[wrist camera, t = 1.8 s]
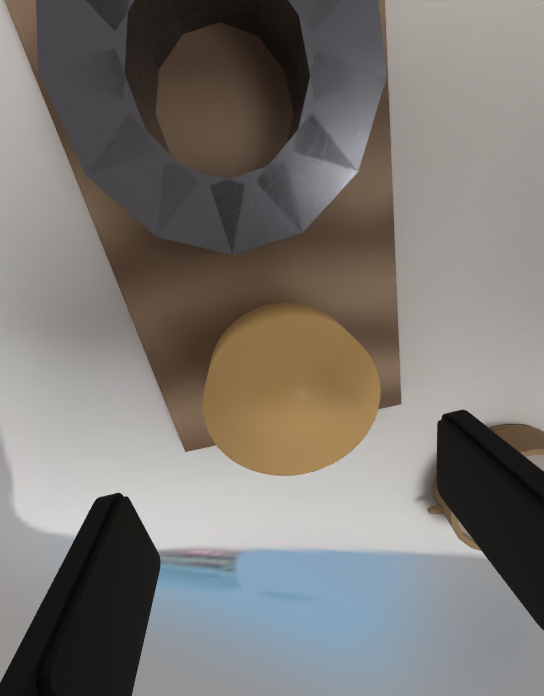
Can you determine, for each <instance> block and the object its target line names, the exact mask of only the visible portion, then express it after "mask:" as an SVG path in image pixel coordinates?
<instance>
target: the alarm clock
mask: <svg viewBox="0 0 544 696" xmlns="http://www.w3.org/2000/svg"><path fill="white" fill-rule="evenodd" d="M489 429H491V430H492V431H493V432H494V433H496V434H497V435H498V436H500V437H501V438H502V439H503V440H505V441H506V442H507V443H508V444H510V445H511V446H512V447H514V448H515V449H516V450H517V451H519V452H520V453H521V454H522V455H524V456H525V457H526V458H527V459H529V460H530V461H531V462H533V463H534V464H535V465H536V466H538V467H539V468H540V469H541V470H543V471H544V432H543V431H541V430H538V429H535V428H533V427H530V426H527V425H508V424H506V425H502V426H497V427H492V428H489ZM433 493H434V499H435V501H436V502H437V504H438V505H436V506H432V507H430V508H427V509H428V512H429V514H438V513H444V514H445V516H446V518H447V519H448V521H449V522H450V525H451V526H452V528H453V530H454V531H455V533H456V535H457V537H458V538H459V539H460V540H461V541H463V542H464V543H465V544H467V545H468V546H470V547H471V548H473V549H477V550H480V551H481V549H480V548H479V547H478V545H477V544H476V543H475V541H474V540H473V539H472V537H471V536H470V535H469V534H468V532H467V531H466V530H465V528H464V527H463V526H462V524H461V523H460V522H459V520H458V519H457V518H456V517H455V515H454V514H453V513H452V511H451V510H450V509H449V507H448V506H447V505H446V503H445V502H444V501H443V499H442V498H441V496H440V495H439V492H438V490H437V473H436V476H435V479H434V482H433Z"/></svg>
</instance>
